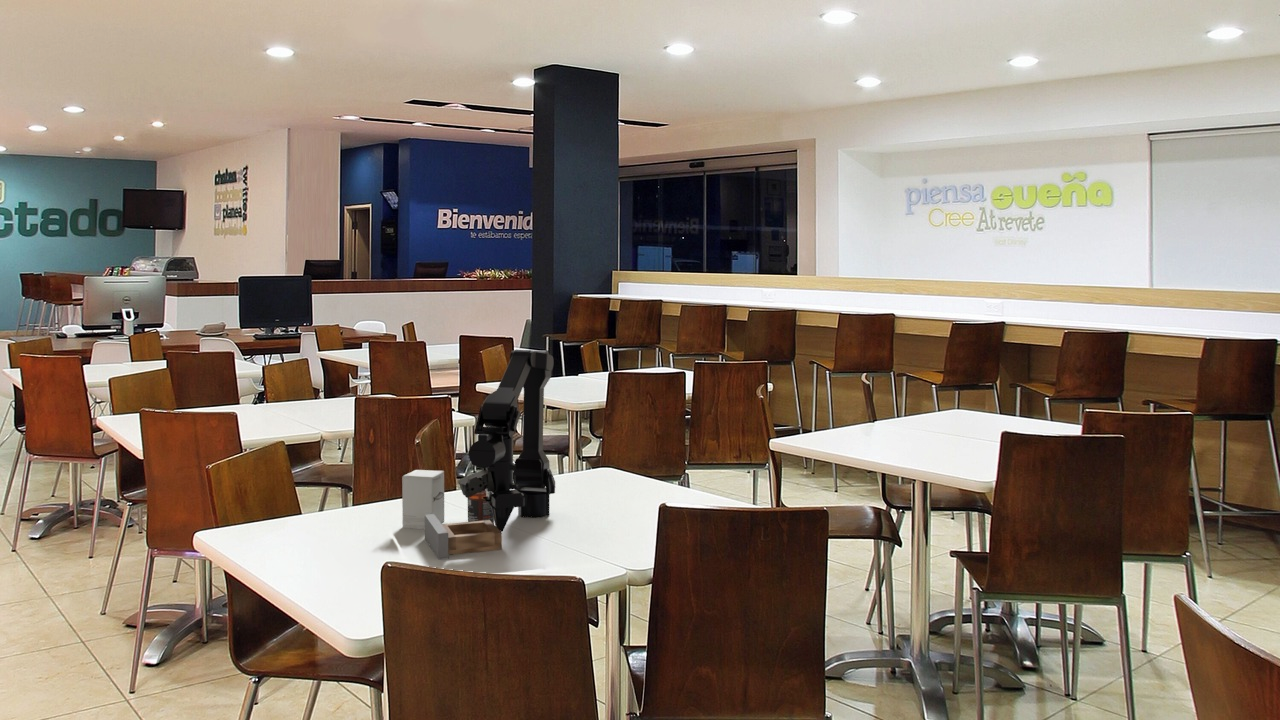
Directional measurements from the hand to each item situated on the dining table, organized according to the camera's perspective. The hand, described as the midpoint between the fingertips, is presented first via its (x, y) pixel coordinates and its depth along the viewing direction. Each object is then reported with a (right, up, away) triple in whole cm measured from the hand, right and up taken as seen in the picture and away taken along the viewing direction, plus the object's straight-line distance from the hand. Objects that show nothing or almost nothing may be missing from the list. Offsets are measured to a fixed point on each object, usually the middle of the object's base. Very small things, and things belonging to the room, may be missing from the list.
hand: (499, 531), depth 213 cm
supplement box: (-19, -2, +14) cm, 24 cm away
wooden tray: (-6, -2, -2) cm, 7 cm away
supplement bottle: (-6, -2, +14) cm, 15 cm away
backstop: (-3, -3, -1) cm, 5 cm away
